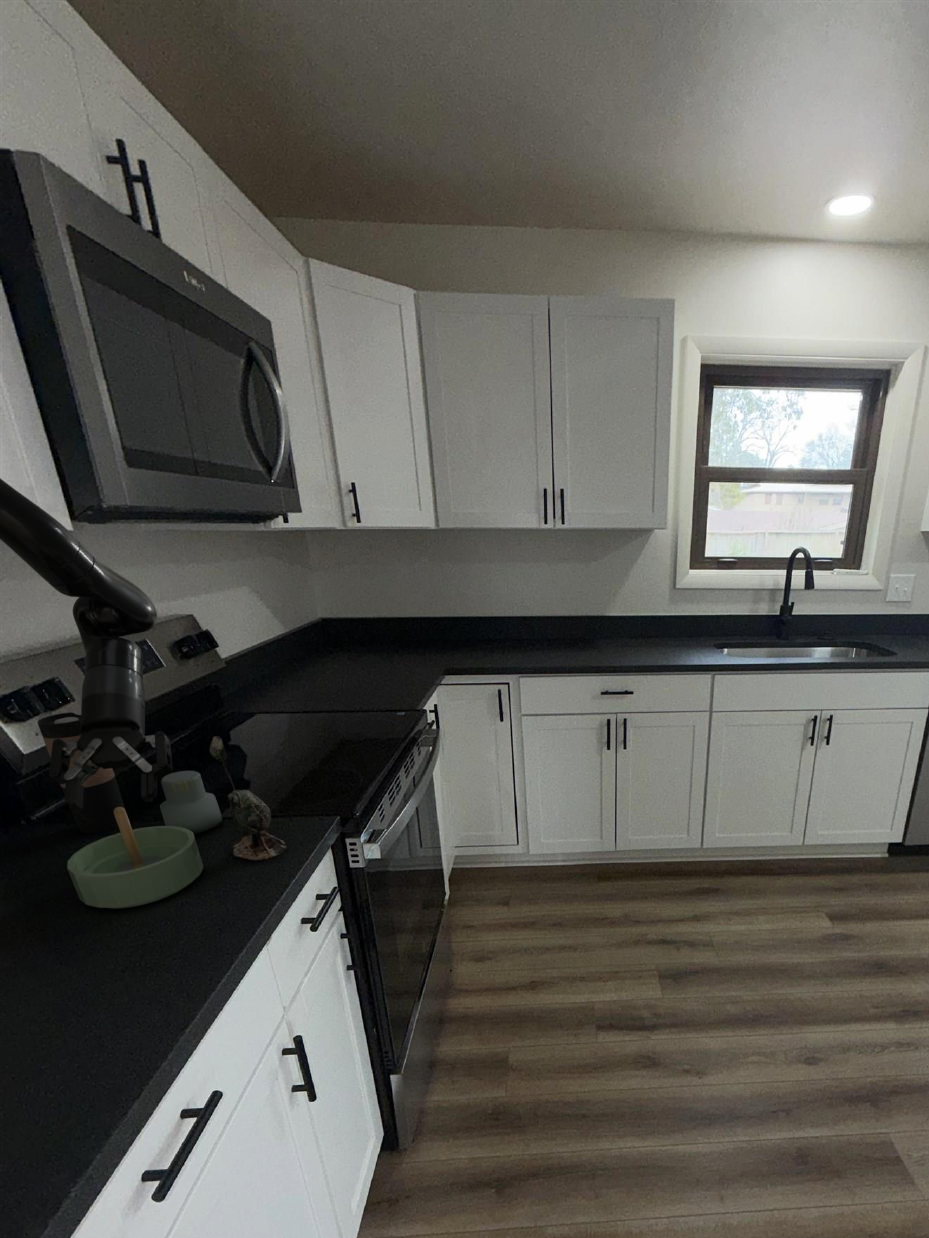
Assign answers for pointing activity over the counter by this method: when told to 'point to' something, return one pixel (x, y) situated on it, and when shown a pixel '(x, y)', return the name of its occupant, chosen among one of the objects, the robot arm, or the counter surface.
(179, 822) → the air freshener
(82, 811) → the travel mug
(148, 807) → the counter surface
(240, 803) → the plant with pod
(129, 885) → the bowl
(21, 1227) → the counter surface
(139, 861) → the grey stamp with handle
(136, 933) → the counter surface
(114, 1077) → the counter surface
